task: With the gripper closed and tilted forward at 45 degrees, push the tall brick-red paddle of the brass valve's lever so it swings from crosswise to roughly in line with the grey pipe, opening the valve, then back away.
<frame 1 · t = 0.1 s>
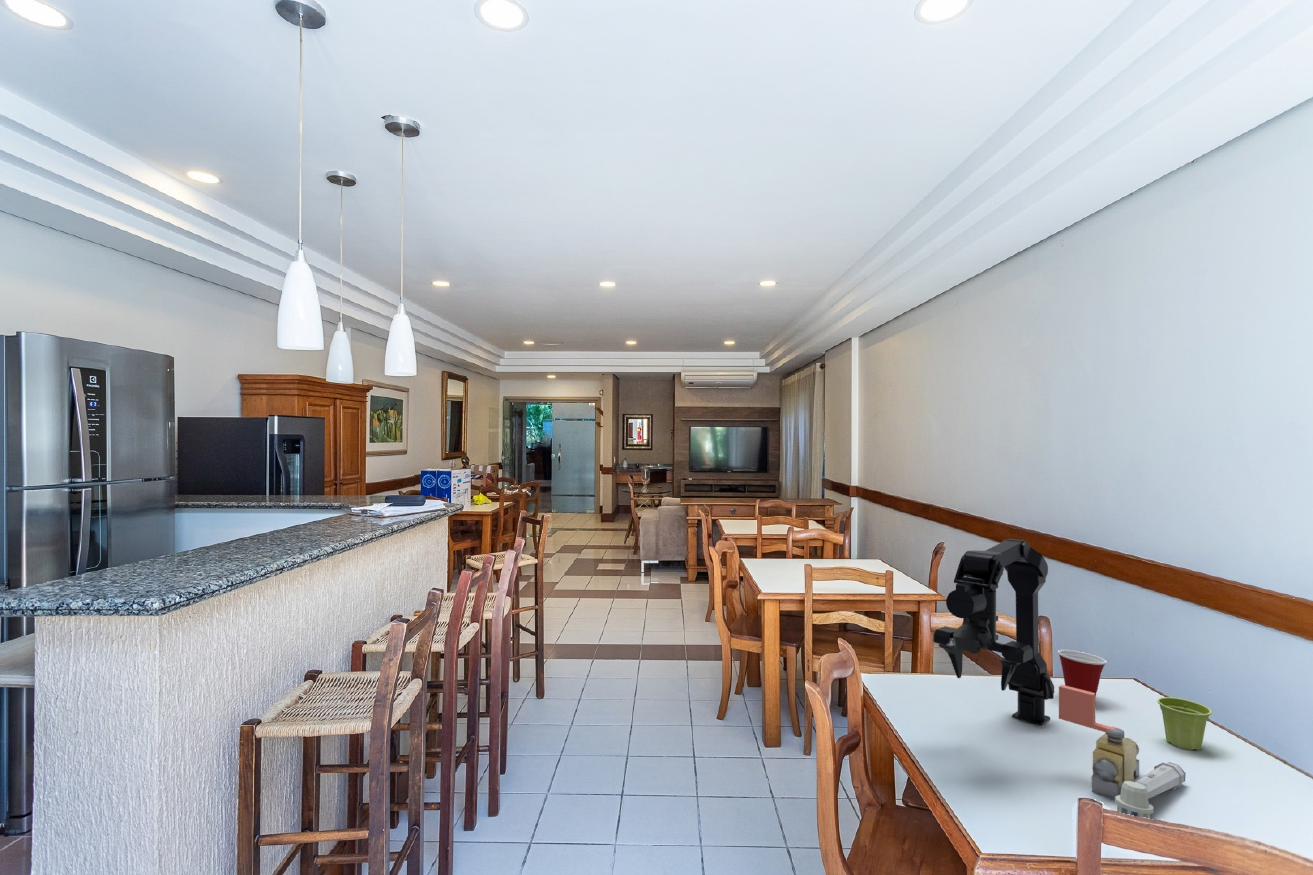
hand: (980, 683, 138), 15 cm above the table, tool pointing down, fingers open, 9 cm apart
plant pot: (1184, 745, 143), on the table
valve: (1114, 784, 125), on the table
plastic cup: (1081, 701, 168), on the table
lever: (1091, 710, 128), point 13 cm above the table, hinge at 0.0°
white flashlight: (1152, 803, 119), on the table
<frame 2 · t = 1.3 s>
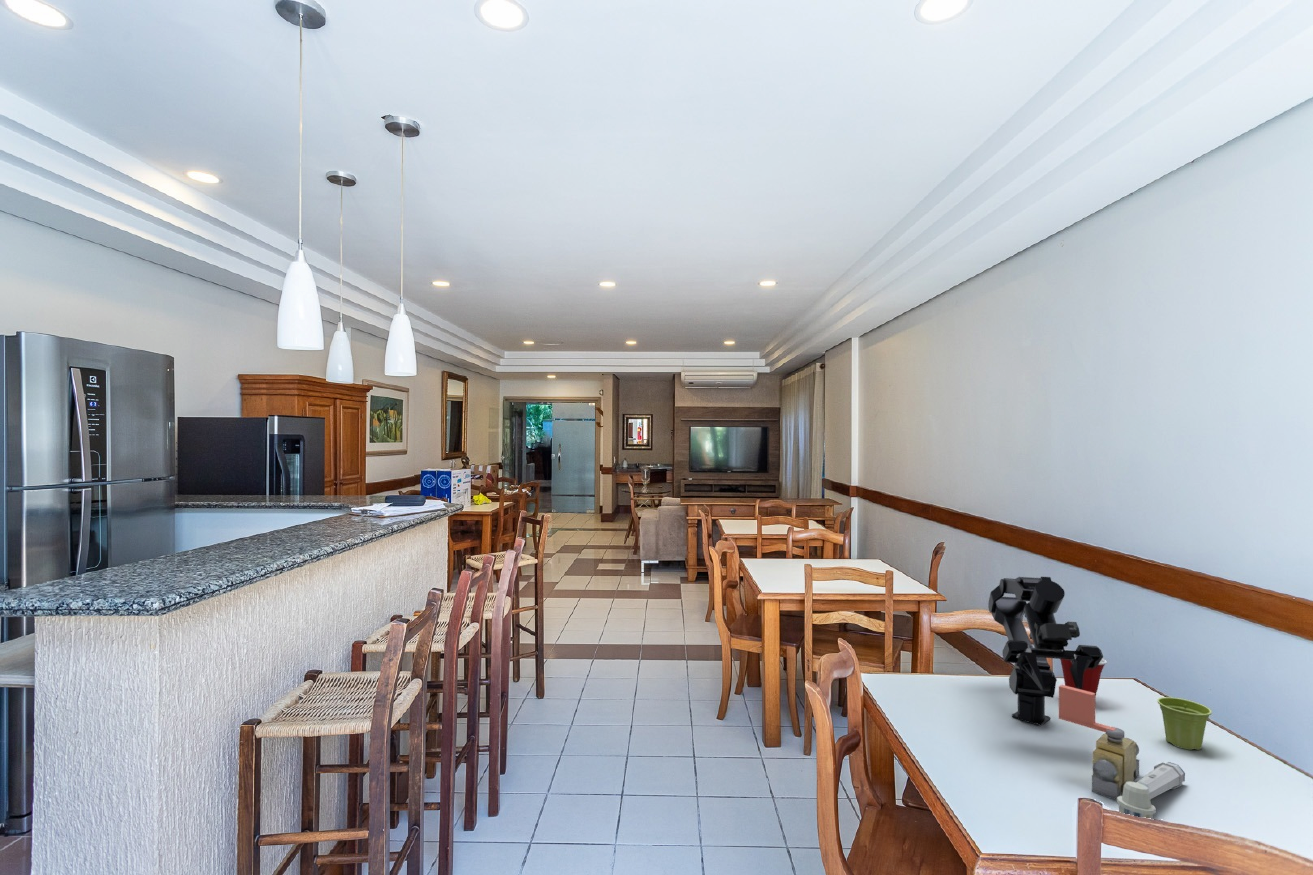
hand: (1061, 691, 137), 13 cm above the table, tool tilted 45°, fingers open, 7 cm apart
nothing on the table moved.
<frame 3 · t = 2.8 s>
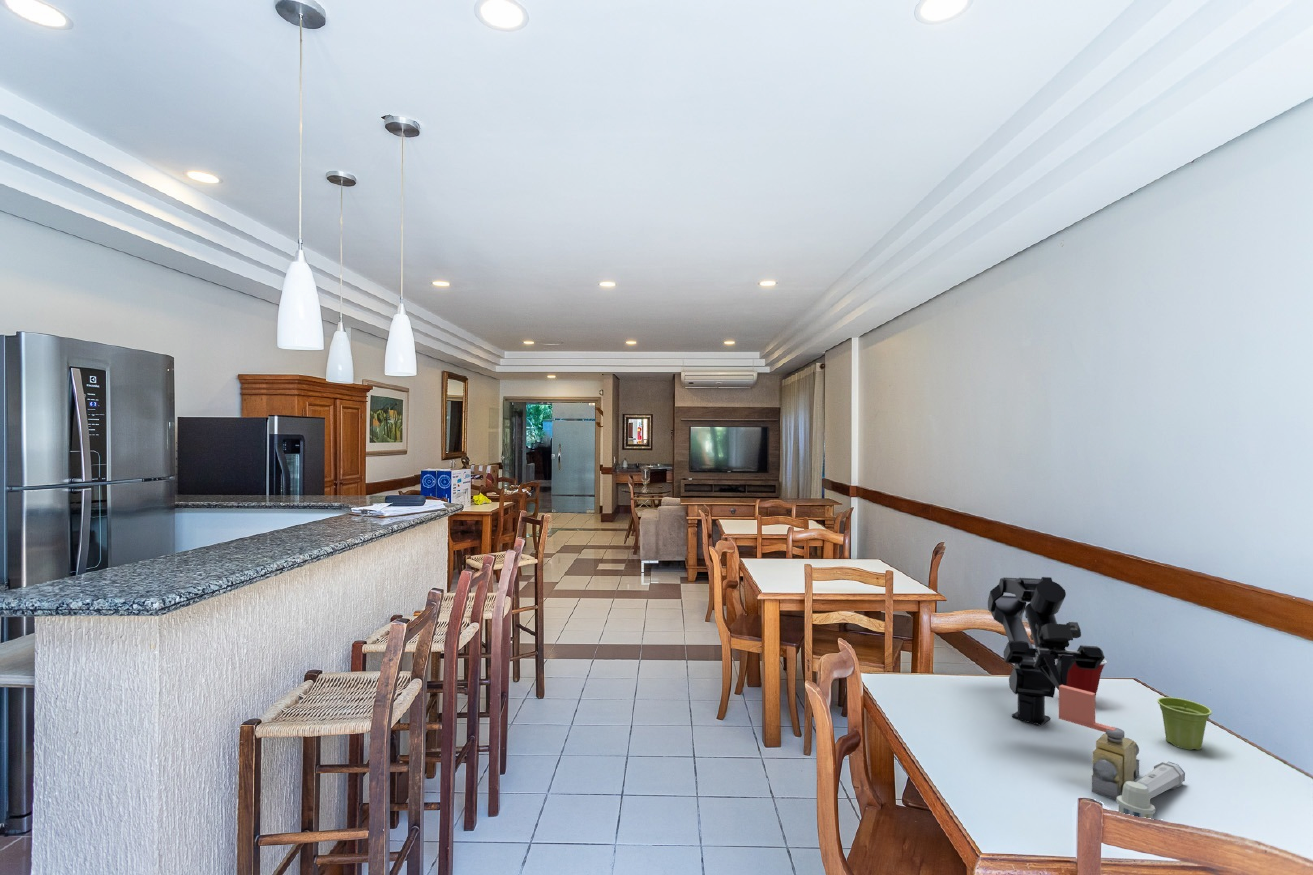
hand: (1063, 691, 137), 14 cm above the table, tool tilted 45°, fingers closed
nothing on the table moved.
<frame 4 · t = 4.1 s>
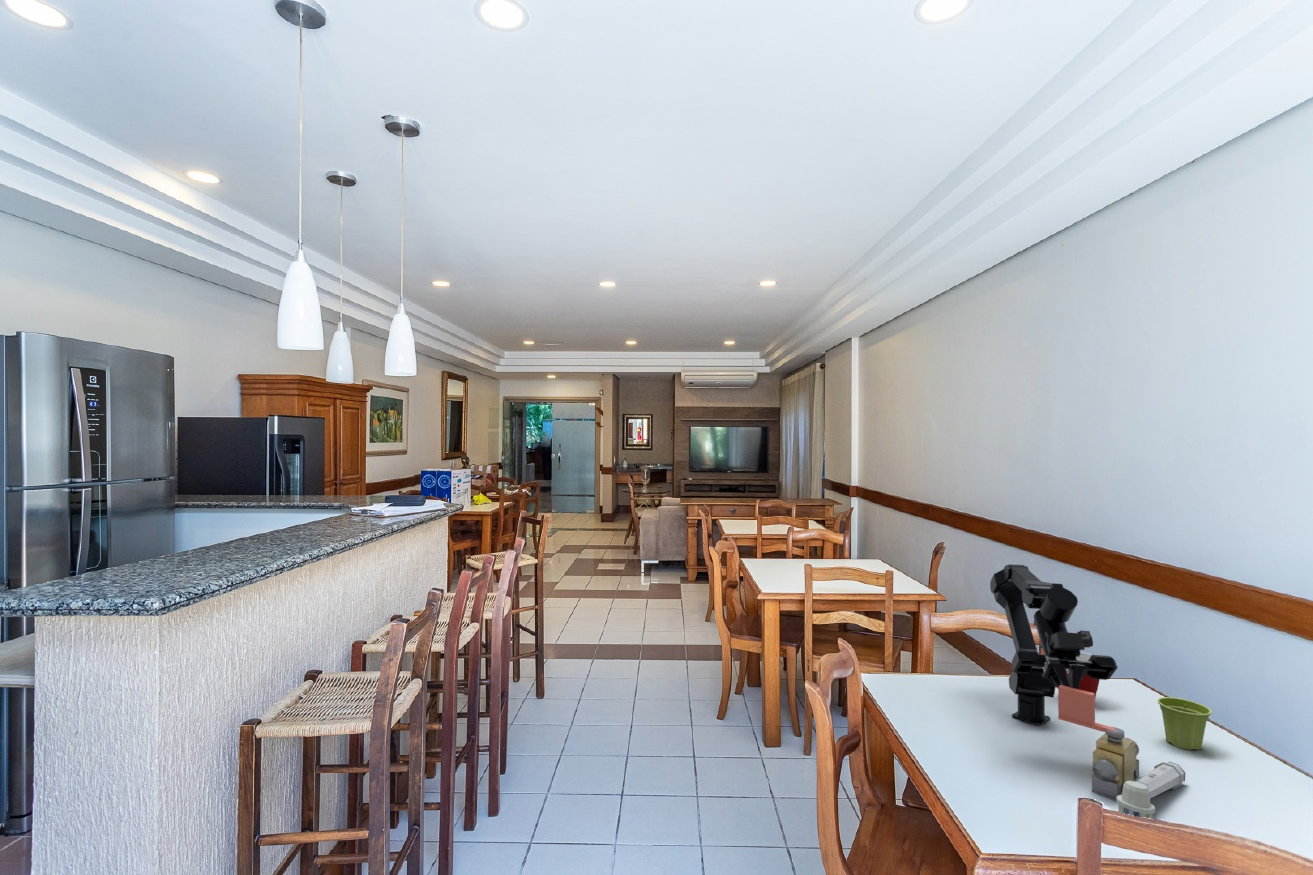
hand: (1074, 703, 131), 13 cm above the table, tool tilted 45°, fingers closed
lever: (1090, 710, 128), point 13 cm above the table, hinge at 2.1°, touching gripper
everything else where it was.
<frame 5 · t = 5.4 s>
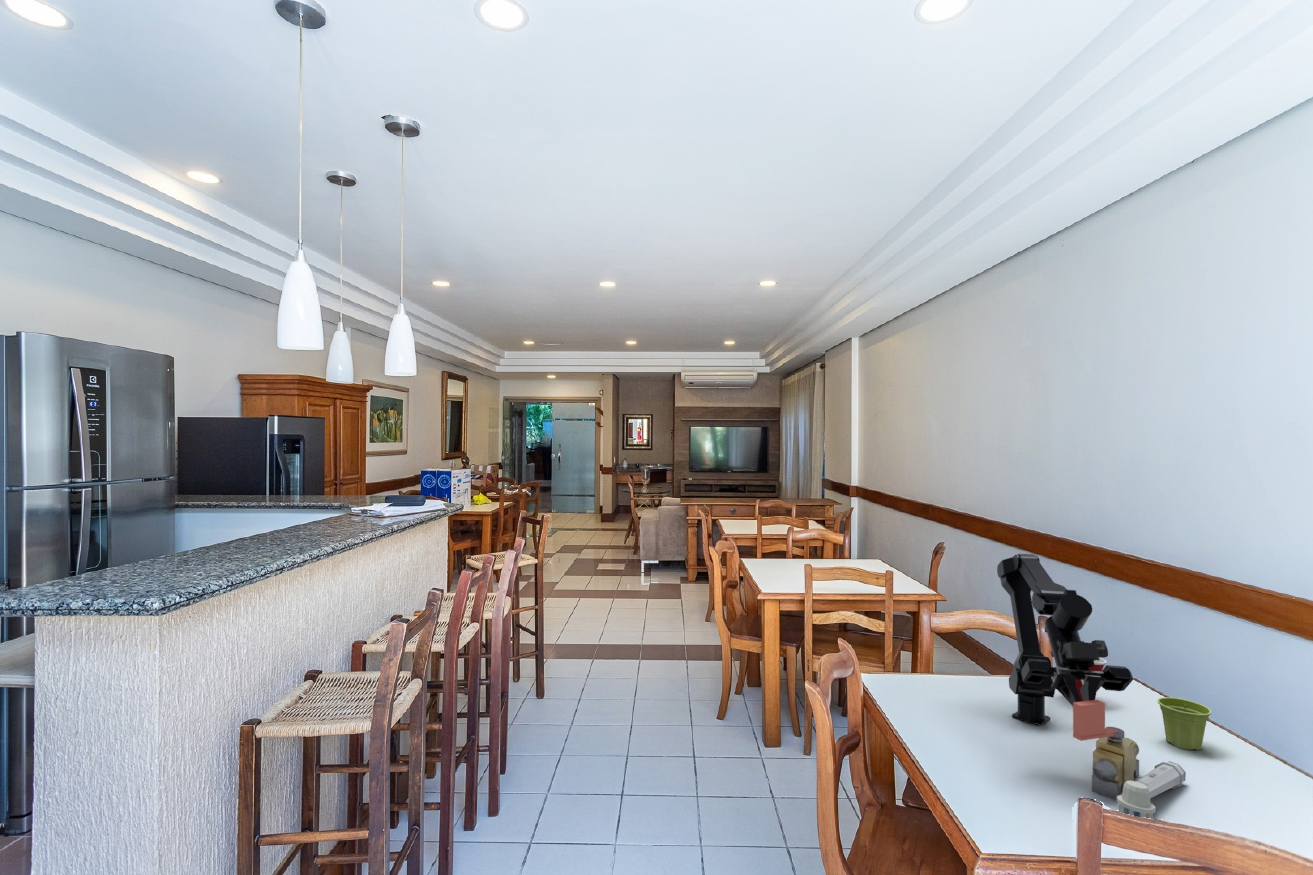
hand: (1087, 716, 125), 13 cm above the table, tool tilted 45°, fingers closed
lever: (1099, 719, 124), point 13 cm above the table, hinge at 65.9°, touching gripper
everything else where it was.
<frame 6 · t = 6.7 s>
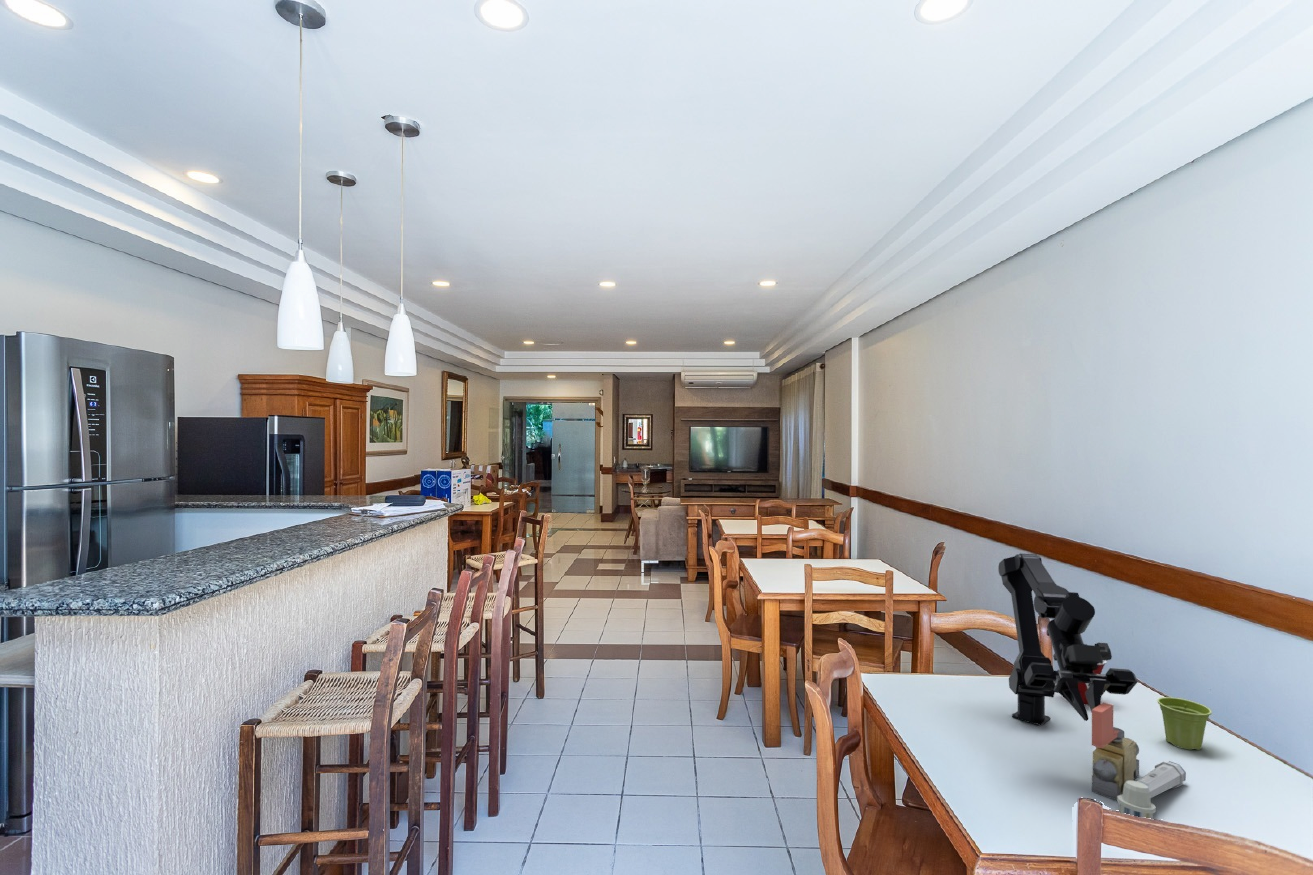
hand: (1092, 720, 124), 13 cm above the table, tool tilted 45°, fingers closed
lever: (1107, 722, 123), point 13 cm above the table, hinge at 87.4°
everything else where it was.
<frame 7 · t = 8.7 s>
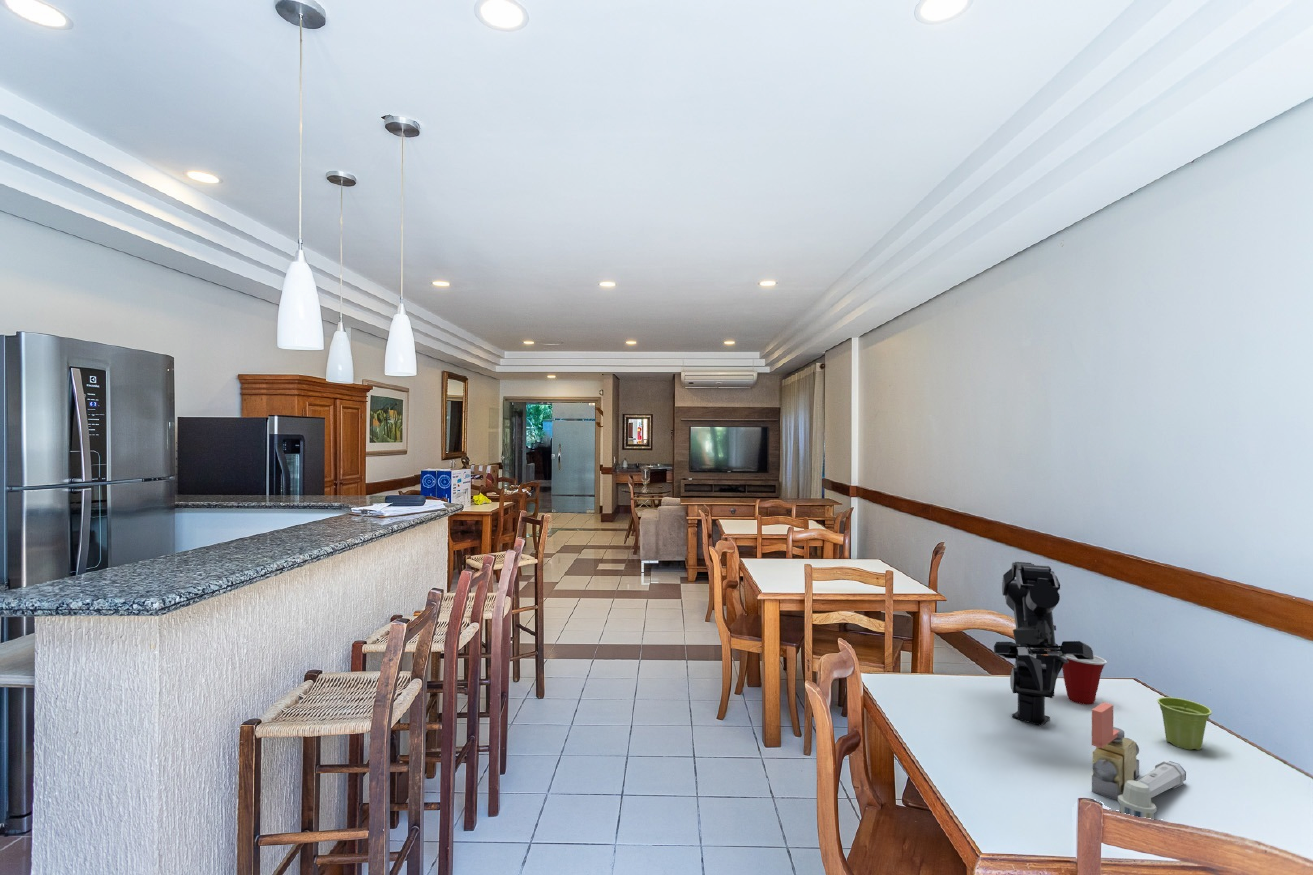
hand: (1045, 690, 140), 12 cm above the table, tool tilted 25°, fingers closed
nothing on the table moved.
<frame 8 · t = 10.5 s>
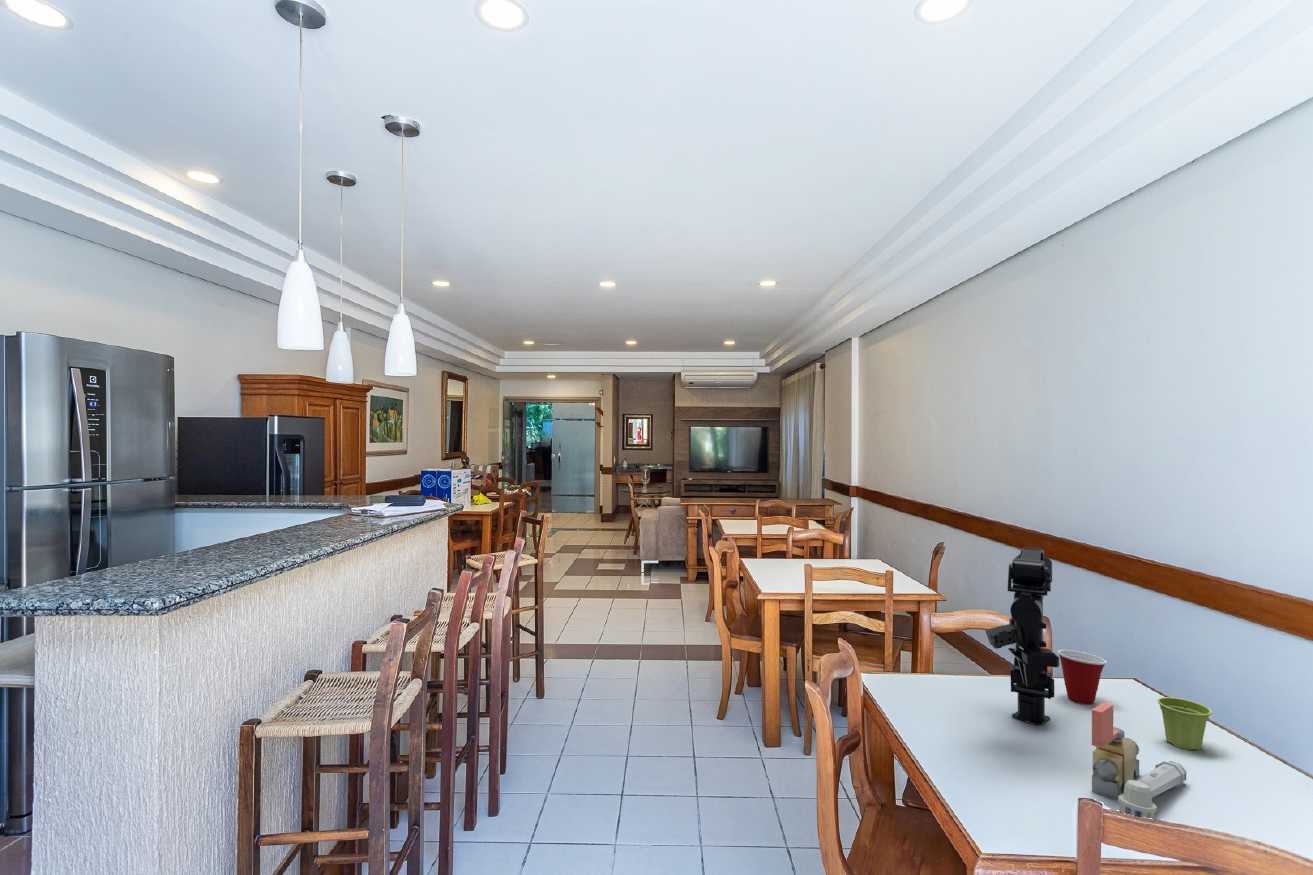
hand: (1028, 685, 145), 12 cm above the table, tool pointing down, fingers closed
nothing on the table moved.
at the end: lever at +87° (first picture: +0°) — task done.
